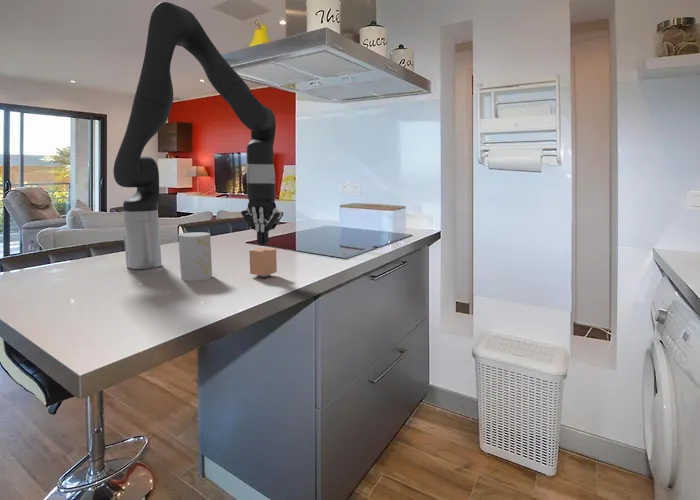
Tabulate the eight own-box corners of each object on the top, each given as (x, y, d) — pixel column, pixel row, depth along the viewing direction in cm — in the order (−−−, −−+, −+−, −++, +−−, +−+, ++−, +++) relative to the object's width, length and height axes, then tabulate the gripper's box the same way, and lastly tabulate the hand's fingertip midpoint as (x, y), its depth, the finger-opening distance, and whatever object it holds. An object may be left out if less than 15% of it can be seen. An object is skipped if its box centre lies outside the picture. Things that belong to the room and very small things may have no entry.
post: (257, 277, 118) (256, 252, 116) (262, 275, 120) (262, 250, 119) (264, 278, 117) (264, 253, 115) (270, 276, 119) (269, 251, 118)
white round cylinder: (202, 281, 112) (199, 237, 110) (174, 279, 114) (172, 235, 112) (217, 274, 120) (215, 232, 118) (191, 273, 122) (189, 231, 120)
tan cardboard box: (250, 273, 117) (249, 250, 116) (261, 270, 122) (261, 247, 120) (265, 276, 115) (264, 252, 114) (276, 272, 119) (276, 249, 118)
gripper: (232, 181, 113) (235, 245, 116) (273, 182, 108) (274, 249, 111) (250, 181, 120) (252, 241, 123) (289, 181, 114) (290, 245, 117)
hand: (263, 245), depth 117 cm, fingers closed
